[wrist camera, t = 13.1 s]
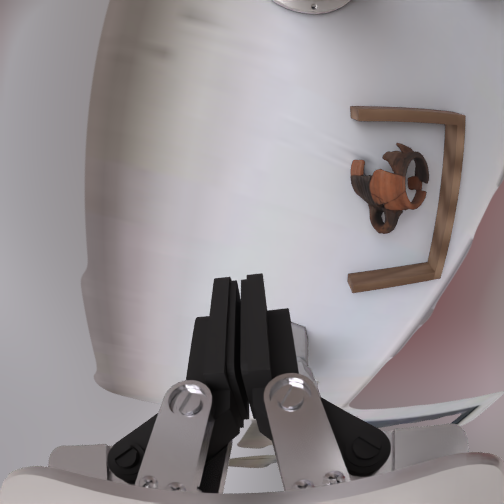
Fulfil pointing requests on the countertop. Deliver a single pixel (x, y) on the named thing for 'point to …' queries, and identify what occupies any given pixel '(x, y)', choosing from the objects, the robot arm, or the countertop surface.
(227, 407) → the robot arm
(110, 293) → the countertop surface
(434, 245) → the frame
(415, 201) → the pottery mug
